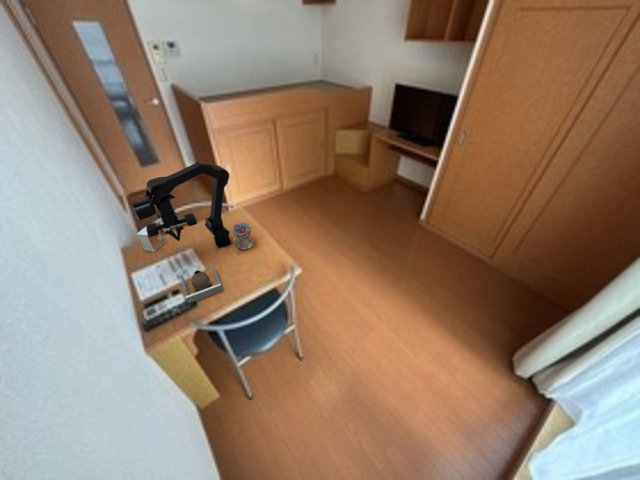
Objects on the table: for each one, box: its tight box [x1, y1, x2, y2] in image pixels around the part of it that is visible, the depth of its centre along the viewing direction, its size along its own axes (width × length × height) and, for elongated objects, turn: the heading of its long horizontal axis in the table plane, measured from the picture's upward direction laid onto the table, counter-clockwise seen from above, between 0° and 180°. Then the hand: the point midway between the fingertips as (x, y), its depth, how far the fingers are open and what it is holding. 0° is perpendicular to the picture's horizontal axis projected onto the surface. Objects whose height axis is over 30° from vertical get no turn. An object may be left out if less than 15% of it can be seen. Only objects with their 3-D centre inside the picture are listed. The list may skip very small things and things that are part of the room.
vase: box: [190, 269, 211, 291], centre depth 110 cm, size 7×7×9 cm
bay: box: [180, 264, 224, 304], centre depth 111 cm, size 14×14×4 cm
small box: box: [136, 226, 166, 253], centre depth 129 cm, size 8×6×10 cm
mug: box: [231, 222, 255, 251], centre depth 129 cm, size 12×9×11 cm
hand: (178, 240), depth 117 cm, fingers closed
